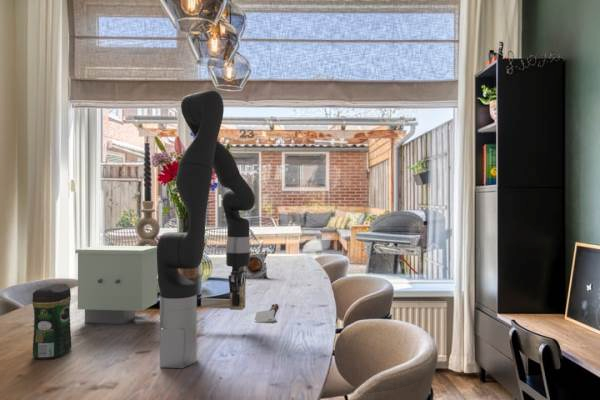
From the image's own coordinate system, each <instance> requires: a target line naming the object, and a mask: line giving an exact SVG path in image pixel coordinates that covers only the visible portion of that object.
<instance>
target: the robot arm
mask: <svg viewBox="0 0 600 400" xmlns="http://www.w3.org/2000/svg"><path fill="white" fill-rule="evenodd" d="M224 109H225V107H224V100H223V98H222V96H221V95H220V93H219V92H218V91H216V90H205V91H199V92H196V93H192V94H188V95H185V96H184V97H182V99H181V103H180V110H181V114H182V117H183V119H184V121H185V122H186V124H187V126H188V128H189V129H190V130H191V133H192V134H193V136H194V138H193V140H192V141H191V142H190V144H189V145H188V146H187V148H186V149H185V151H184V152H183V154H182V155H181V157H180V158H179V162H178V166H177V172H176V179H175V187H176V189H177V192H178V195H179V196H180V199H181V201H182V203H183V205H184V207H185V209H186V213H187V215H188V228H187V229H188V230H187V232H174V231H173V232H171V231H170V232H164V233H163V234H161V235H160V236H159V238H158V241H157V243H156V246H157V286H158V288H159V367H160V368H169V369H171V368H172V369H185V367H188V366H192V365H194V364H195V363H196V362H197V360H198V345H197V344H198V339H197V338H198V324H197V323H198V319H197V318H198V315H197V314H198V286H197V283H196V282H195V281H193V280H191V279H189V278H188V277H185V276H184V275H182V274H181V273H180V271H179V269H181V270H184V269H185V270H188V269H189V270H190V269H191V270H192V269H193V270H194V269H196V268H199V266H200V265H201V263H202V261H203V257H204V248H205V236H206V220H207V210H208V202H209V196H210V189H211V184H212V178H213V177H212V176H213V171H214V173H215V175H216V178H217V179H218V180H217V181H218V182H219V184H220V185H221V186H222V187H223V188H226V189H227V190H226V191H225V192H224V194H223V196H222V202H221V203H222V208H223V212H224V215H225V220H226V225H227V230H226V231H227V233H226V234H227V235H226V237H227V238H226V248H225V249H226V255H225V257H226V260H225V263H226V264H225V266H227V267H230V268H231V272H230V275H228V283H229V284H228V286H229V287H228V288H229V294H230V293H231V294H232V306H239V304H240V287H241V286H242V283H245V285H246V283H247V282H246V281H247V278H246V273H247V272H246V270H244V266H249V265H250V253H251V242H250V221H249V220H248V219H247V218H245V217H242V216H241V215H240V212H239V211H242V212H247V211H250V210H252V209H253V208H254V206H255V203H256V197H255V194H254V191H253V189H252V188H251V186H250V185H249V183H247V180H245V179H244V177H243V176H242V174H241V173H240V169H239V168H238V165H237V163H236V160H235V157H234V156H233V155H232V154H231V152H230V151H229V150H228V149H227V147H225V146H224V145H223V144H222V143H221V142H220V141H218V139H219V138H218V137H219V135H220V131H221V127H222V122H223V118H224ZM238 283H239V284H238ZM234 287H236V289H234Z"/></svg>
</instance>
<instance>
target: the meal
mask: <svg viewBox="0 0 600 400" xmlns="http://www.w3.org/2000/svg"><path fill="white" fill-rule="evenodd" d="M267 256H268V253H253V254H252V253H251V252H250V265H249V266H244V270H246V272H247V273H246V279H256V278H258V279H260V278H263V279H268V274H267V269H268V268H267V262H265V261H266V258H267Z"/></svg>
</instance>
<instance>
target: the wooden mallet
mask: <svg viewBox="0 0 600 400" xmlns="http://www.w3.org/2000/svg"><path fill="white" fill-rule="evenodd" d="M238 284H239V283H238ZM234 289H236V287H234ZM200 308H202V309H203V308H204V309H205V308H208V309H229V310H230V311H243V310H244V309H245V308H246V284H245V283H242V286H241V287H240V304H239V306H232V294H231V293H230V292H229V298H200Z"/></svg>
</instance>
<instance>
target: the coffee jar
mask: <svg viewBox="0 0 600 400" xmlns="http://www.w3.org/2000/svg"><path fill="white" fill-rule="evenodd" d="M71 293H72V292H71V287H70V286H69V285H68V284H66V283H59V284H58V283H52V284H50V285H47V286H45V287H42V288H38V289H36V290H35V291H33V292H32V300H31V301H32V302H31V304H32V307H33V316H34V317H33V337H32V338H33V339H32V341H33V342H32V358H35V359H38V360H48V359H54V358H59V357H61V356H63V355H64V354H66V353H67V352H69V351H70V350H71V349H72V332H71V308H70V307H71V299H72V298H71V297H72V295H71Z"/></svg>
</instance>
